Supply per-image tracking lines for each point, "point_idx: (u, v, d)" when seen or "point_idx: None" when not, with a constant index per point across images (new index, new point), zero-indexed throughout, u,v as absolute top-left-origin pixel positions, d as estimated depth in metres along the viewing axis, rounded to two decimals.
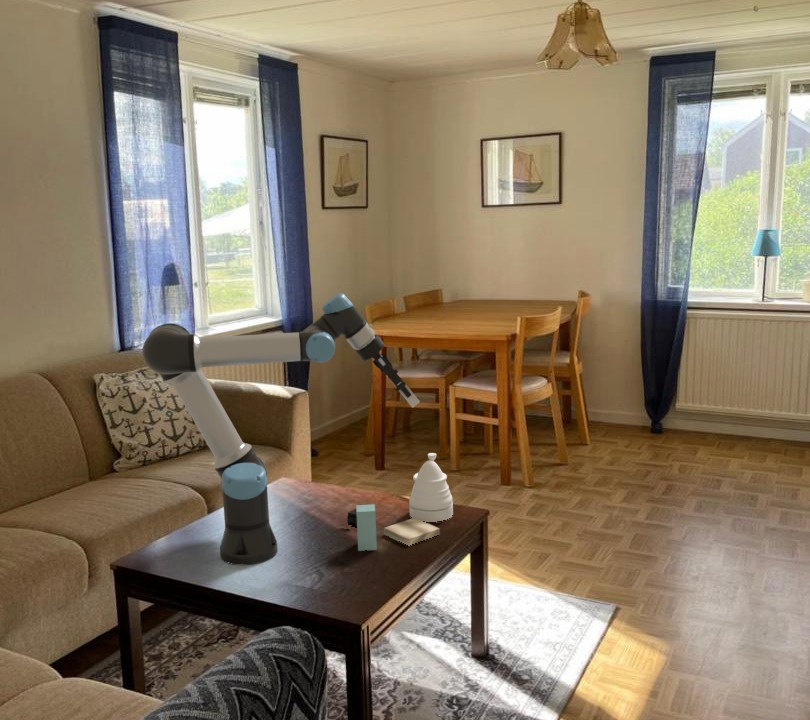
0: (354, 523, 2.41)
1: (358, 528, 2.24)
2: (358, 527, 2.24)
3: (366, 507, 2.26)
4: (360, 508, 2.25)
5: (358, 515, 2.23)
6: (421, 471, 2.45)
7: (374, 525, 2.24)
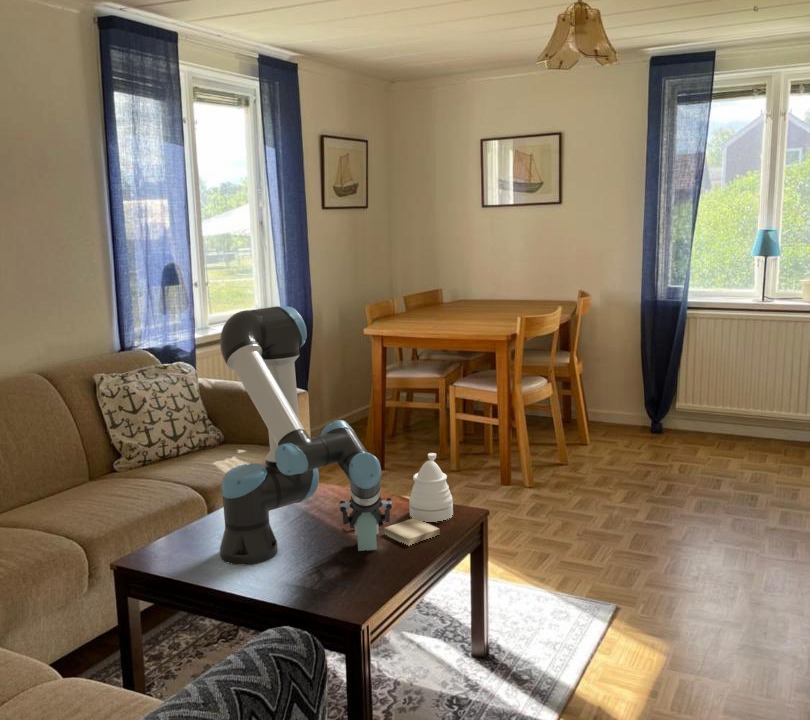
0: None
1: (358, 528, 2.24)
2: (358, 527, 2.24)
3: None
4: None
5: None
6: (421, 471, 2.45)
7: (374, 525, 2.24)
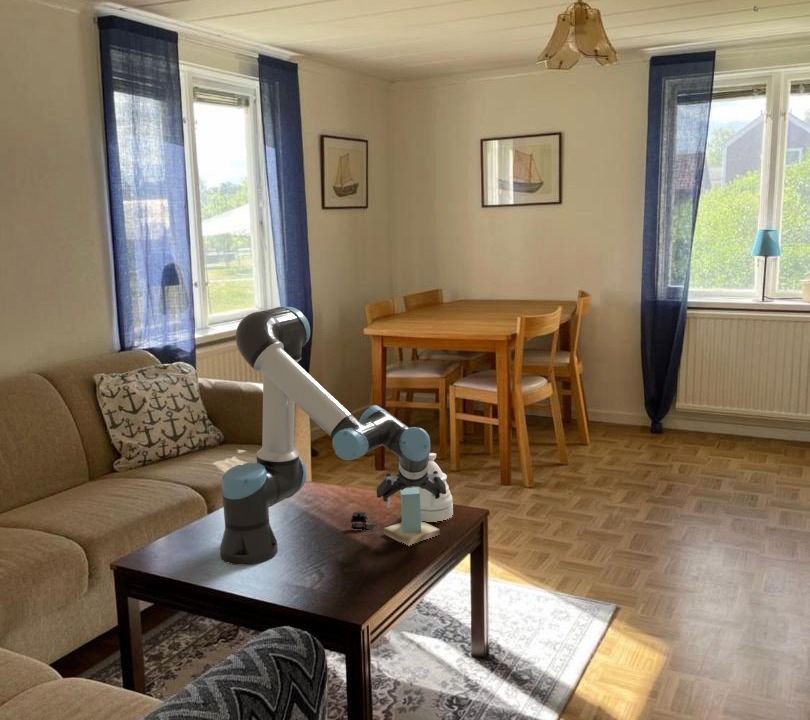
0: None
1: (403, 510, 2.30)
2: (402, 509, 2.30)
3: (411, 490, 2.32)
4: (404, 491, 2.32)
5: (403, 498, 2.30)
6: None
7: (418, 507, 2.31)
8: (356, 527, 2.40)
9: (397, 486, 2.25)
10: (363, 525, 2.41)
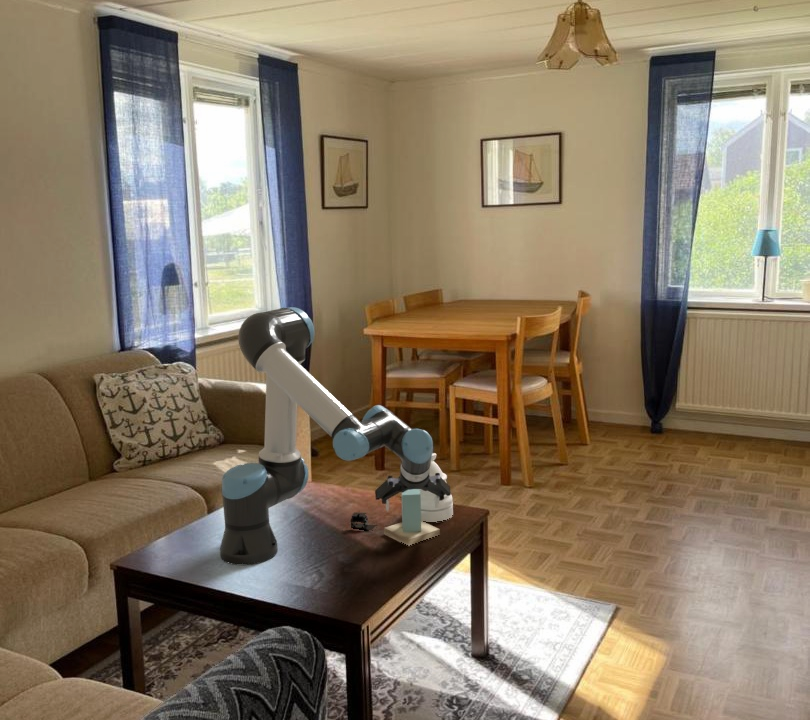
0: None
1: (403, 510, 2.30)
2: (403, 509, 2.30)
3: (411, 490, 2.32)
4: (405, 491, 2.31)
5: (404, 498, 2.29)
6: None
7: (419, 508, 2.30)
8: (355, 527, 2.40)
9: (398, 488, 2.22)
10: (363, 525, 2.40)
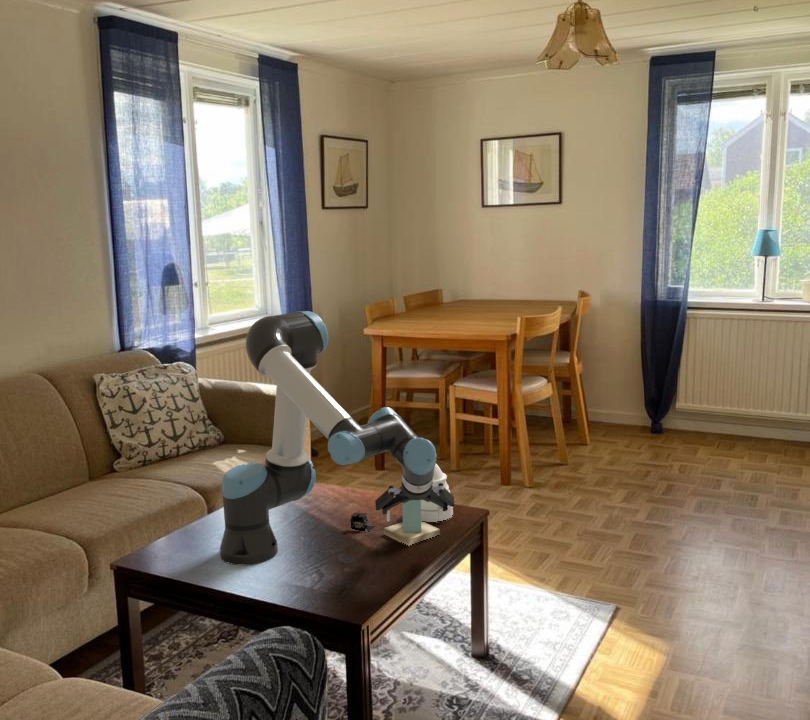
0: None
1: (403, 510, 2.30)
2: (403, 509, 2.30)
3: None
4: None
5: None
6: None
7: (419, 507, 2.30)
8: (355, 527, 2.39)
9: (399, 499, 2.11)
10: (362, 526, 2.40)
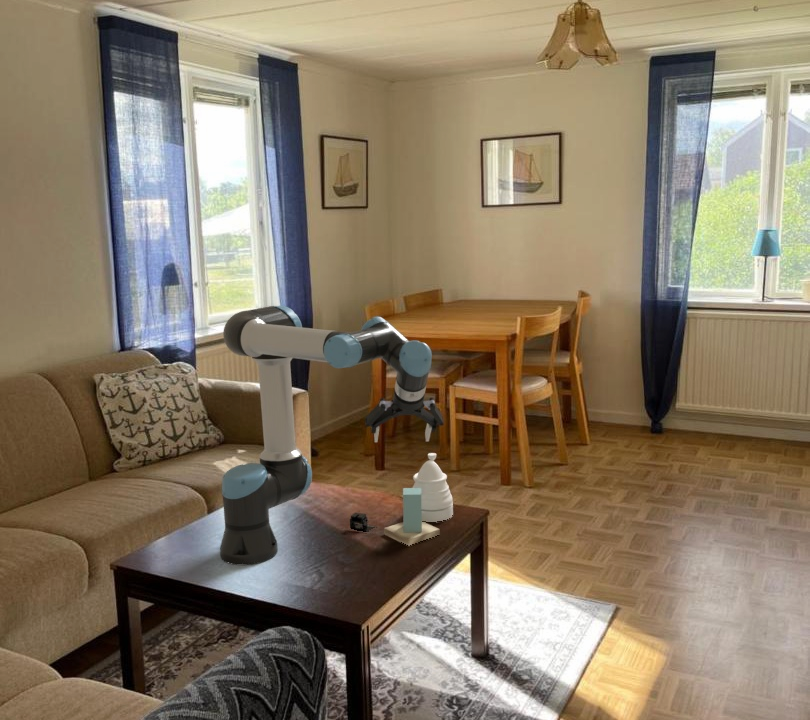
0: None
1: (404, 510, 2.30)
2: (404, 509, 2.30)
3: (413, 490, 2.32)
4: (407, 491, 2.32)
5: (404, 498, 2.29)
6: (421, 471, 2.45)
7: (420, 508, 2.30)
8: (354, 528, 2.39)
9: (389, 413, 2.11)
10: (362, 526, 2.40)
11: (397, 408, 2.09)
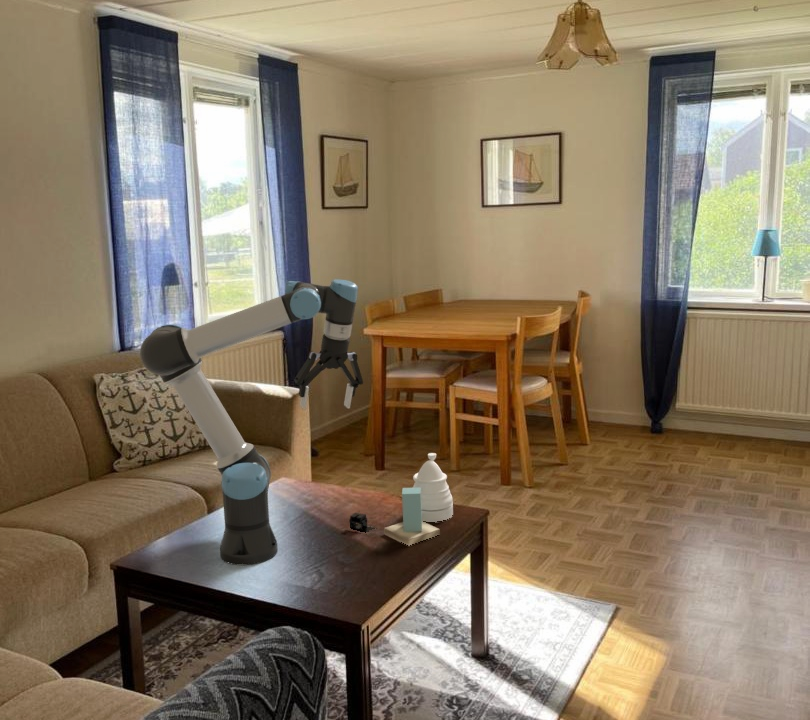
0: None
1: (403, 510, 2.31)
2: (403, 509, 2.31)
3: (412, 490, 2.33)
4: (406, 490, 2.32)
5: (404, 497, 2.30)
6: (421, 471, 2.45)
7: (419, 507, 2.30)
8: (354, 528, 2.39)
9: (318, 367, 2.32)
10: None
11: (326, 358, 2.32)
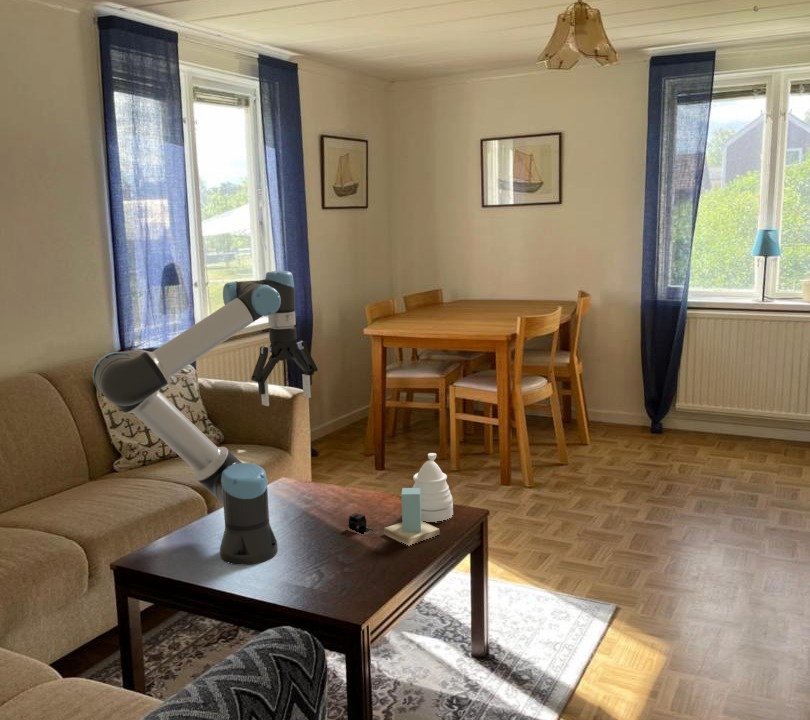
0: None
1: (403, 510, 2.30)
2: (402, 509, 2.30)
3: (412, 490, 2.32)
4: (405, 491, 2.32)
5: (403, 497, 2.30)
6: (421, 471, 2.45)
7: (418, 508, 2.30)
8: (352, 528, 2.39)
9: (272, 360, 2.33)
10: None
11: (277, 350, 2.33)
